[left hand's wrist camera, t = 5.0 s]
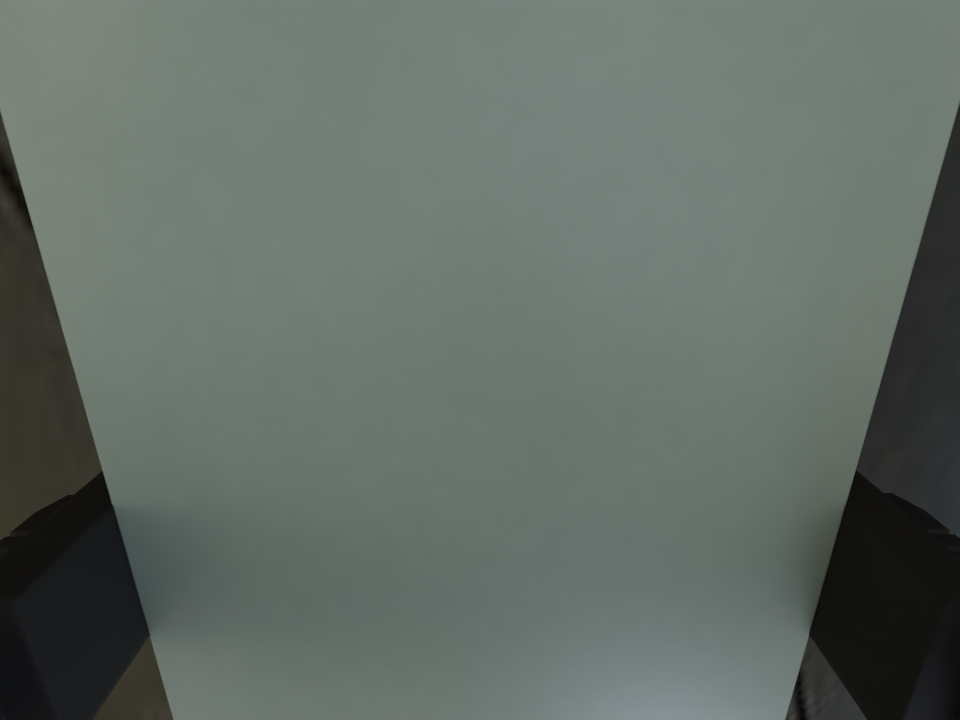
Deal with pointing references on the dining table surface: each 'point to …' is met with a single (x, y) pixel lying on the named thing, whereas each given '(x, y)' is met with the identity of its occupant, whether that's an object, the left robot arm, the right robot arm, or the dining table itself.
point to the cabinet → (479, 331)
